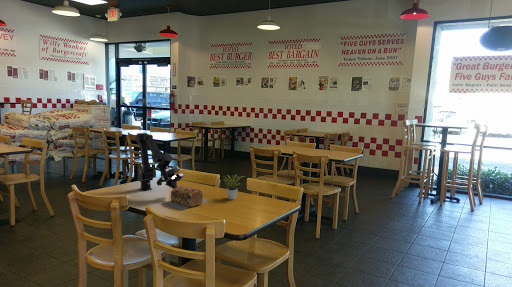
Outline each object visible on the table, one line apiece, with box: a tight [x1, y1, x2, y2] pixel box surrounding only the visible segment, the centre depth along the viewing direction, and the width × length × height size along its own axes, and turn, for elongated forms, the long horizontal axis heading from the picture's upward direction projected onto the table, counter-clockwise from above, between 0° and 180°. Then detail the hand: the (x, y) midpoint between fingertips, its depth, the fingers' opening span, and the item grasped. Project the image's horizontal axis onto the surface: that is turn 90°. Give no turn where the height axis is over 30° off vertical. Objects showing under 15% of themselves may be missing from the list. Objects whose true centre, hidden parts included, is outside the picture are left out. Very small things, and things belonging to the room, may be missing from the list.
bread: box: [170, 185, 204, 208], centre depth 222 cm, size 19×11×10 cm, turn 51°
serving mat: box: [161, 198, 210, 211], centre depth 225 cm, size 18×24×1 cm
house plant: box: [222, 173, 245, 200], centre depth 237 cm, size 14×14×16 cm
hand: (176, 189), depth 228 cm, fingers closed
